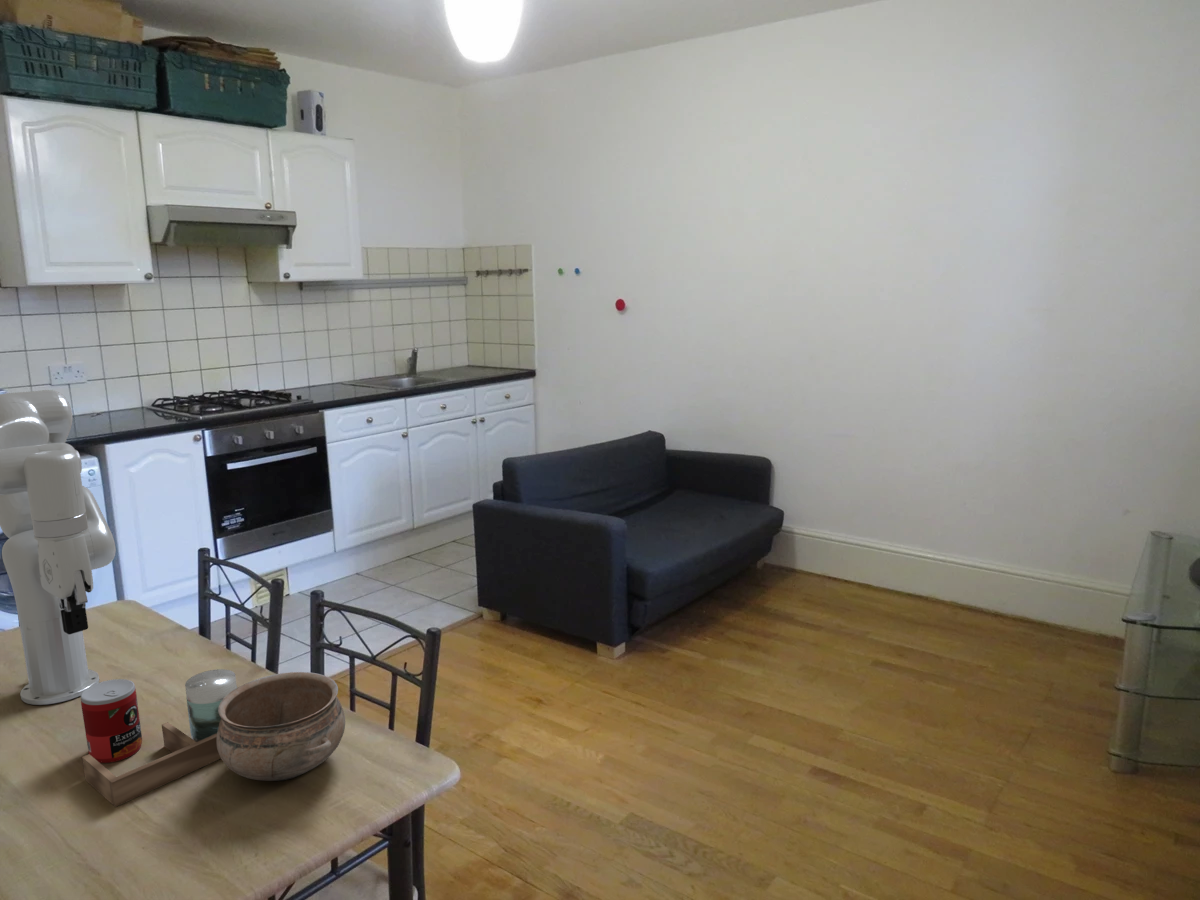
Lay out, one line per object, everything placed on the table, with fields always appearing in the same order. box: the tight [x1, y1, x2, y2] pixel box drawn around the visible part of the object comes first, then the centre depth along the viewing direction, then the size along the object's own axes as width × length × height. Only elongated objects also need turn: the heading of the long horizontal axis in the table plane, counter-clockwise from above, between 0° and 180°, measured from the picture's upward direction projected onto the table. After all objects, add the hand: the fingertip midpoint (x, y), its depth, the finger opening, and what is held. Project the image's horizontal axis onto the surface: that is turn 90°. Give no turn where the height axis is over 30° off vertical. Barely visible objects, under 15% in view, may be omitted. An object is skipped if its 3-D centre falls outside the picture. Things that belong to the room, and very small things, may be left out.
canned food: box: [80, 678, 143, 764], centre depth 137 cm, size 8×8×11 cm
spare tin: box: [184, 668, 238, 742], centre depth 140 cm, size 8×8×11 cm
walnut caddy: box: [81, 721, 222, 808], centre depth 136 cm, size 11×25×4 cm, turn 141°
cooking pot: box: [217, 671, 346, 782], centre depth 131 cm, size 25×19×12 cm
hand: (76, 630), depth 140 cm, fingers closed
